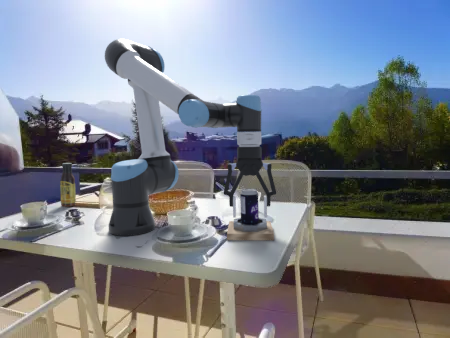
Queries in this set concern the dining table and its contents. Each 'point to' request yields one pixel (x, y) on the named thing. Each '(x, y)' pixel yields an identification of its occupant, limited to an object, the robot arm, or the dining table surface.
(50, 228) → the dining table surface
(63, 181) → the sauce bottle
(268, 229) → the oak board
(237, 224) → the collar
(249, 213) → the beverage can
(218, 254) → the dining table surface
